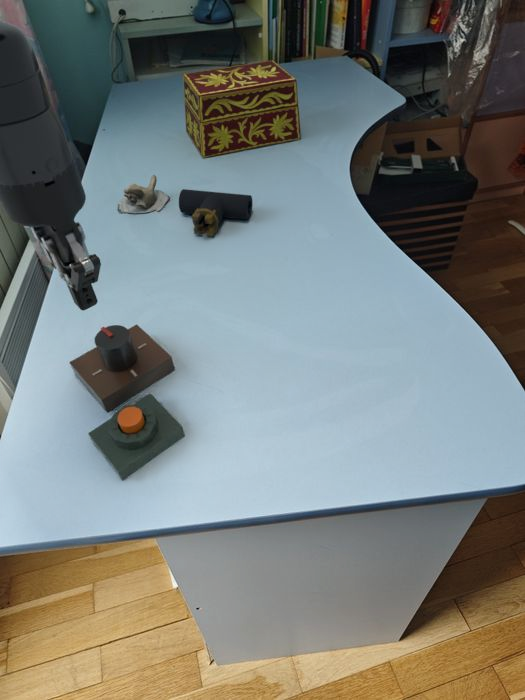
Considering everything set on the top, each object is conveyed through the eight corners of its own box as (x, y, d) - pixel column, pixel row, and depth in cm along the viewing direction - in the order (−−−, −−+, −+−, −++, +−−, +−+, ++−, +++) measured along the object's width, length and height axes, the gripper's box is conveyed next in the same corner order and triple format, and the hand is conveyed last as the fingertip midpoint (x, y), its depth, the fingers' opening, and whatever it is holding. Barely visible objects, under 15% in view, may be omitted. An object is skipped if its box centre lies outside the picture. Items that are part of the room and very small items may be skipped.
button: (128, 438, 63) (125, 430, 62) (116, 423, 65) (112, 415, 63) (149, 424, 64) (146, 416, 63) (136, 410, 66) (133, 402, 65)
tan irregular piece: (174, 198, 113) (170, 173, 110) (150, 218, 105) (145, 191, 101) (136, 195, 116) (131, 170, 112) (110, 214, 107) (103, 188, 104)
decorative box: (276, 115, 143) (276, 57, 132) (301, 139, 131) (302, 78, 120) (185, 131, 137) (177, 73, 126) (202, 158, 125) (194, 96, 114)
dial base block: (107, 412, 70) (101, 399, 68) (75, 374, 76) (68, 361, 73) (175, 369, 76) (171, 356, 73) (140, 336, 81) (136, 323, 79)
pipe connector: (237, 218, 95) (165, 210, 98) (238, 241, 99) (170, 233, 102) (251, 190, 103) (185, 184, 106) (252, 212, 107) (188, 206, 109)
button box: (122, 480, 63) (114, 464, 60) (92, 442, 67) (83, 425, 64) (185, 435, 67) (180, 418, 64) (153, 402, 71) (147, 385, 68)
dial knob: (143, 358, 73) (135, 334, 70) (115, 377, 71) (106, 353, 67) (124, 342, 76) (116, 318, 72) (97, 360, 73) (87, 336, 70)
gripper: (-37, 151, 46) (33, 292, 59) (17, 204, 39) (84, 351, 51) (38, 127, 49) (90, 265, 62) (101, 171, 42) (144, 317, 55)
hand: (87, 304), depth 57 cm, fingers closed
